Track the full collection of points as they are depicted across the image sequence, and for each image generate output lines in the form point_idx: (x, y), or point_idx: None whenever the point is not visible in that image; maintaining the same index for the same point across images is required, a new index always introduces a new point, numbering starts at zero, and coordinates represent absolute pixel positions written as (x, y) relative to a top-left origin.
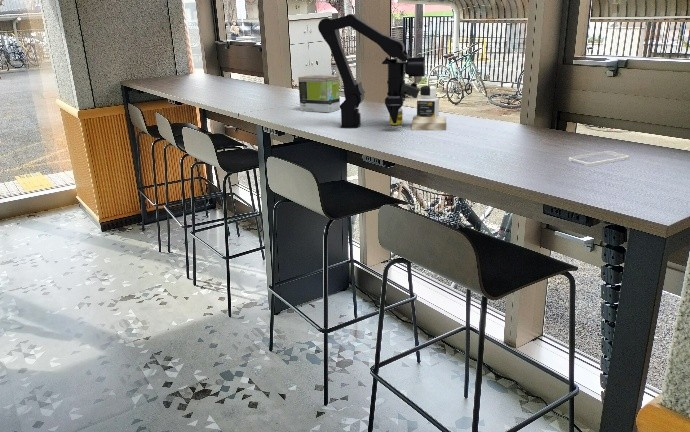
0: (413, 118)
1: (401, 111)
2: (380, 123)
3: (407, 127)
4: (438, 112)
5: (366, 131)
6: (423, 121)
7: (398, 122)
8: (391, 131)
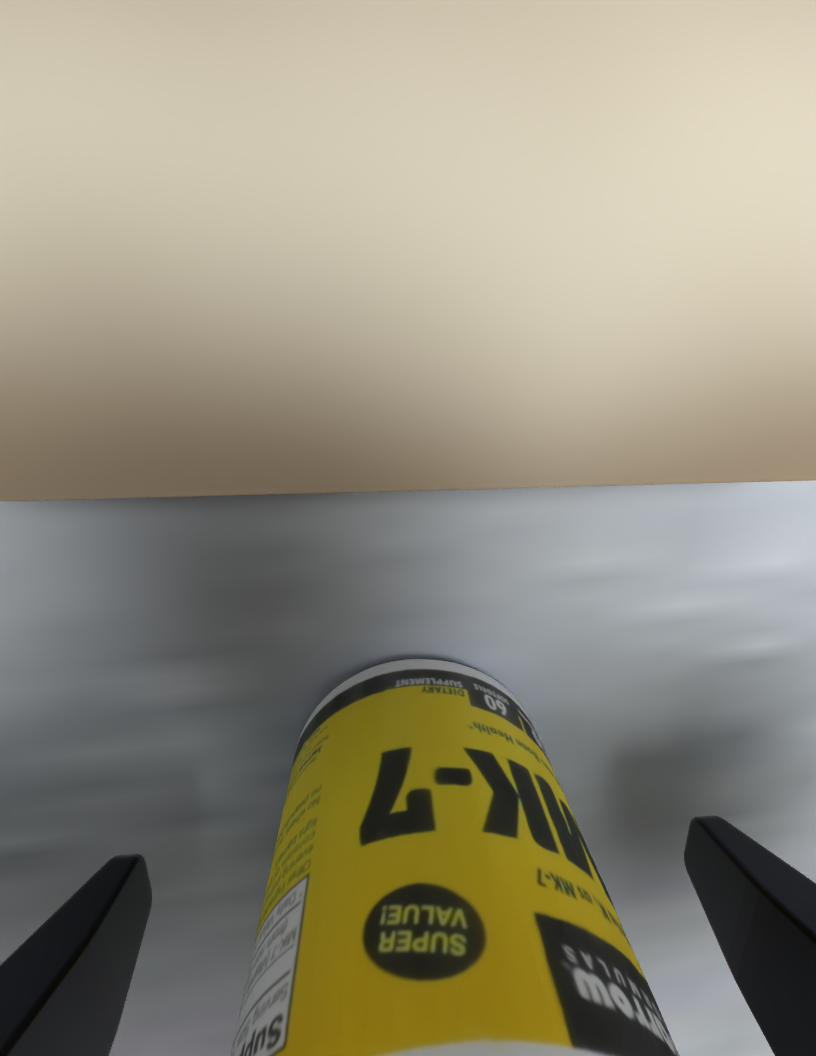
0: (186, 479)
1: (600, 1042)
2: (130, 997)
3: (474, 551)
4: None
5: (722, 1036)
6: (739, 82)
7: (557, 781)
8: (793, 767)
